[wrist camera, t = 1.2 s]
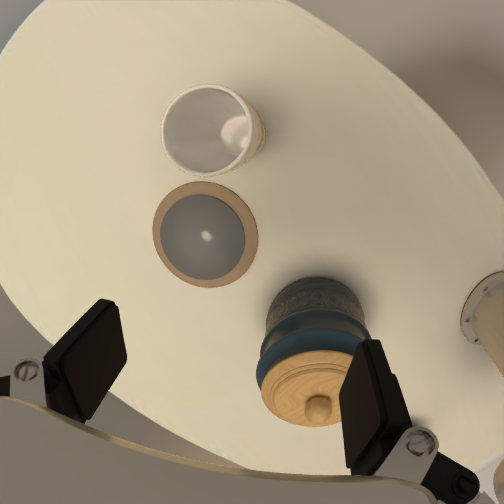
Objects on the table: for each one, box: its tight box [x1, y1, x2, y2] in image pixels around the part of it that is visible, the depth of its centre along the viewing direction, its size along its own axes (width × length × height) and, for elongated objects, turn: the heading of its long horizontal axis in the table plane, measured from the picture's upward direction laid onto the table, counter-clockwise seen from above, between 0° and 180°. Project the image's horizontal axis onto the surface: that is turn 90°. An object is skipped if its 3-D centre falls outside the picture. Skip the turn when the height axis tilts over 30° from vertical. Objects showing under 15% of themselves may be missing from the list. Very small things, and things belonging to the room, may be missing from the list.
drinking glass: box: [161, 84, 266, 177], centre depth 26 cm, size 7×7×15 cm
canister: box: [256, 278, 371, 427], centre depth 31 cm, size 13×13×18 cm
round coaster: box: [153, 182, 258, 288], centre depth 37 cm, size 14×14×1 cm
